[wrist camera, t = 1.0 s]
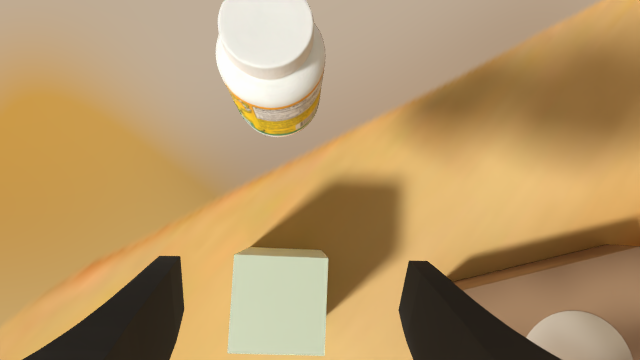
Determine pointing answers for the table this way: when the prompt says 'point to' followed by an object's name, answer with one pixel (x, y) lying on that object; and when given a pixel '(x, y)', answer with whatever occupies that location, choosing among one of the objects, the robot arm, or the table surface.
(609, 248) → the plinth
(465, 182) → the table surface
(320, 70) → the supplement bottle
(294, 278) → the block
